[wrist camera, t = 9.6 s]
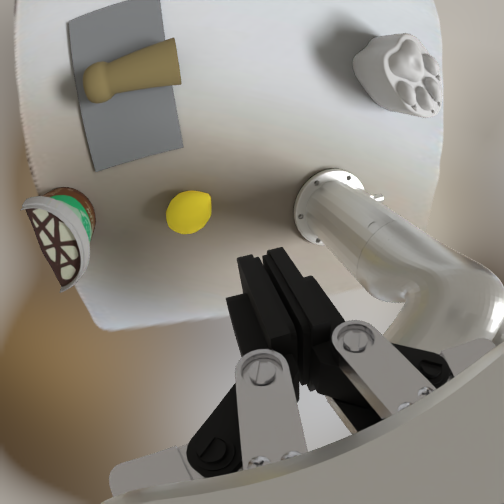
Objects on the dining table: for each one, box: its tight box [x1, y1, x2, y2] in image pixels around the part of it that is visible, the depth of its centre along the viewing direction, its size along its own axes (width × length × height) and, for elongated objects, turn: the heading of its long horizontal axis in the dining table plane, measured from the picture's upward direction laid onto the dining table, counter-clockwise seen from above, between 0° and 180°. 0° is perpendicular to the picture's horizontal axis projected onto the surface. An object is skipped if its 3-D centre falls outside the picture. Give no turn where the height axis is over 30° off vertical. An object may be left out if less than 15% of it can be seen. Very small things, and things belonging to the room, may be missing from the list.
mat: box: [69, 0, 183, 172], centre depth 27 cm, size 12×22×1 cm, turn 6°
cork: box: [83, 38, 181, 104], centre depth 25 cm, size 6×6×11 cm
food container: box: [21, 187, 96, 292], centre depth 31 cm, size 12×6×10 cm, turn 7°
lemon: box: [166, 191, 211, 234], centre depth 36 cm, size 7×5×5 cm
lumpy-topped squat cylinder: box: [353, 33, 443, 118], centre depth 31 cm, size 10×13×9 cm
